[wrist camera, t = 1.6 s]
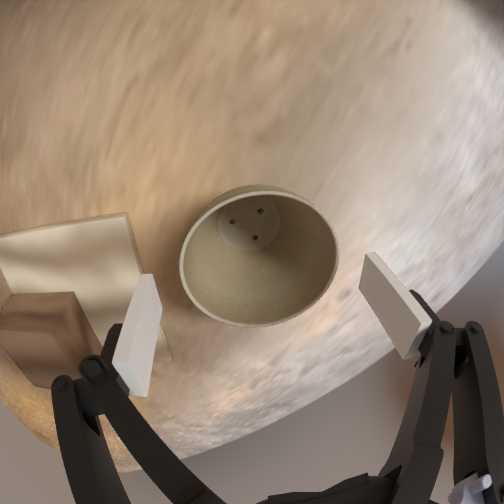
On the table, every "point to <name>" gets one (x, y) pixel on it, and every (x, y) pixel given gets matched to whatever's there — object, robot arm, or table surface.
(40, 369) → the pedestal
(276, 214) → the flower pot
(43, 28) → the table surface
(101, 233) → the board
